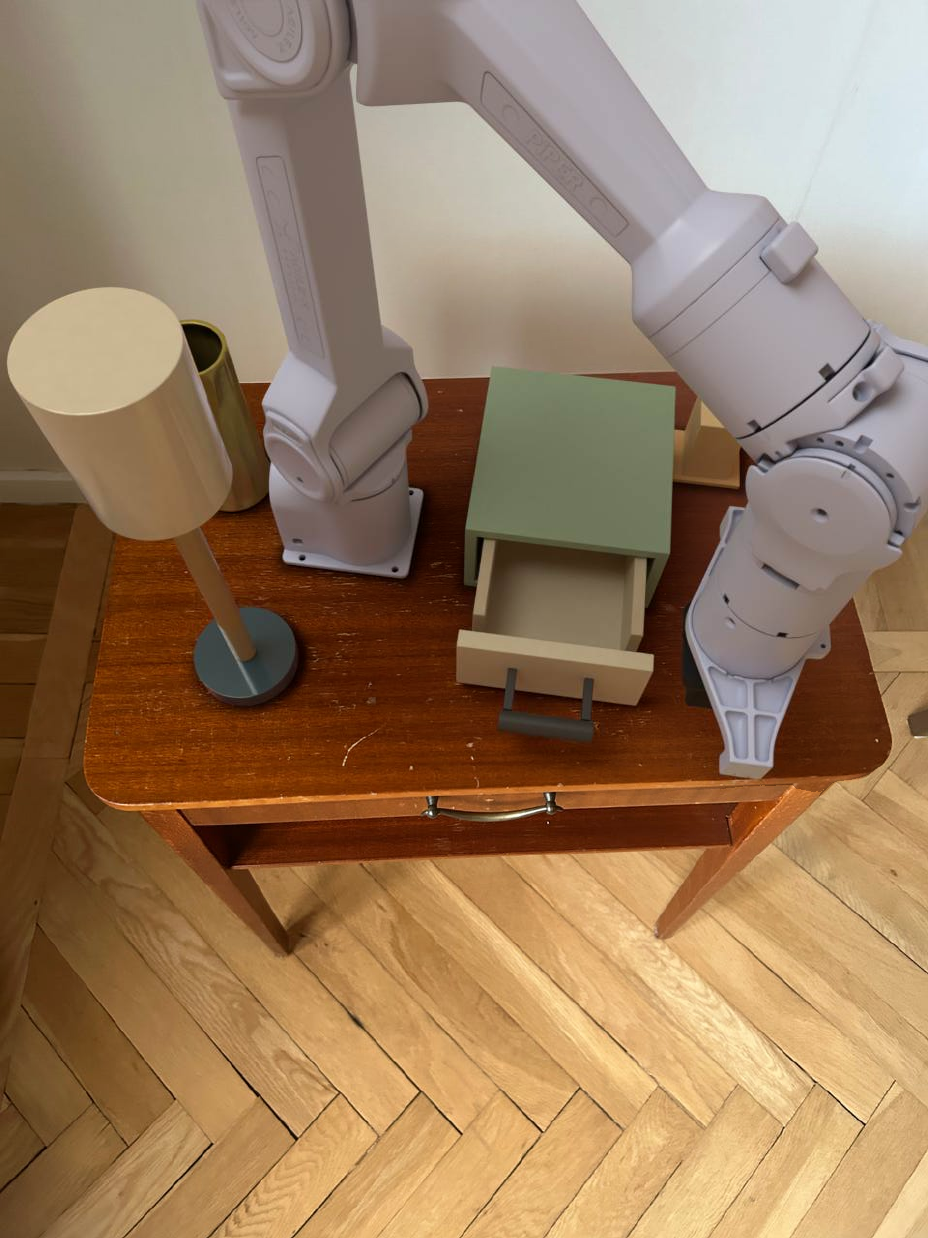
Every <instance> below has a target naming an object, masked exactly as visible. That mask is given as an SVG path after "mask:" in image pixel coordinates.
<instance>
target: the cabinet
mask: <svg viewBox="0 0 928 1238" xmlns="http://www.w3.org/2000/svg"><path fill="white" fill-rule="evenodd" d="M489 375H490V376H489V382H488V388H487V394H486V399H485V407H484V411H483V417H482V424H481V430H480V436H479V443H478V450H477V453H476V461H475V467H474V473H473V479H472V483H471V484H472V485H471V492H470V496H469V502H468V509H467V514H466V515H467V516H466V522H465V526H464V561H463V562H464V565H463V566H464V567H463V585H464V586H468V587H476V588H477V583H478V577H479V570H480V564H481V557H482V550H483V544H484V537H485V538H493V539H501V540H509V541H517V542H525V543H533V544H542V545H550V546H558V547H566V548H574V549H582V550H591V551H599V552H607V553H615V554H623V555H631V556H639V557H647V568H646V589H645V609H648V607H649V605H650V603H651V601H652V599H653V595H654V594H655V592H656V589H657V586H658V584H659V581H660V579H661V576H662V574H663V572H664V570H665V567H666V564H667V562H668V560H669V558H670V555H671V536H672V510H673V508H672V505H673V483H674V481H673V453H674V430H675V419H676V417H675V416H676V393H677V392H676V391H677V390H676V389H677V387H676V386H674V385H667V384H657V383H649V382H639V381H631V380H630V381H629V380H622V379H621V380H620V379H614V378H613V379H612V378H605V377H595V376H586V375H576V374H569V373H568V374H567V373H560V372H551V371H541V370H532V369H525V368H524V369H523V368H515V367H514V368H513V367H505V366H498V365H497V366H495V365H492V366H491V369H490V374H489Z"/></svg>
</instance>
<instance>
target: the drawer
mask: <svg viewBox="0 0 928 1238" xmlns="http://www.w3.org/2000/svg"><path fill="white" fill-rule="evenodd" d="M646 568H647V557H639V556H631V555H623V554H615V553H607V552H599V551H591V550H582V549H574V548H566V547H558V546H550V545H542V544H533V543H525V542H517V541H509V540H501V539H493V538H485V537H484V544H483V550H482V557H481V564H480V570H479V577H478V583H477V587H476V590H475V596H474V597H475V598H474V604H473V609H472V627H471V630H467V629H459V630H458V633H457V634H458V635H457V641H456V677H455V678H456V679H455V680H456V683H460V684H467V685H476V686H482V687H491V688H498V689H504V697H503V705H502V708H501V709H499V712H498V720H497V727H496V731H497V732H500V733H507V734H508V733H509V734H514V735H522V736H530V737H536V738H545V739H552V740H560V741H567V742H573V743H583V744H589V745H590V744H592V743H593V739H594V733H595V722H594V721H592V709H593V701H597V702H605V703H612V704H619V705H627V706H628V705H629V706H637V705H638V704H639V701H640V699H641V697H642V695H643V693H644V691H645V689H646V687H647V684H648V682H649V681H650V678H651V677H652V674H653V672H654V663H655V655H654V654H652V653H646V652H645V653H644V652H637V651H638V648H639V646H640V644H641V642H642V639H643V637H644V631H645V630H644V628H645V627H644V626H645V609H646V608H645V589H646ZM515 691H522V692H529V693H537V694H544V695H552V696H558V697H559V696H560V697H566V698H573V699H581V709H580V719H578V718H577V719H576V718H569V717H562V716H555V715H554V716H553V715H548V714H547V715H546V714H539V713H538V714H537V713H531V712H524V711H517V710H513V707H514V699H515Z"/></svg>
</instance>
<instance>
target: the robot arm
mask: <svg viewBox="0 0 928 1238" xmlns="http://www.w3.org/2000/svg"><path fill="white" fill-rule="evenodd" d="M194 2H195V6H196V10H197V14H198V19H199V21H200V22H199V23H200V26H201V29H202V33H203V37H204V41H205V45H206V49H207V53H208V56H209V60H210V63H211V64H210V65H211V68H212V72H213V75H214V79H215V80H214V81H215V83H216V88H217V91H218V93H219V95H220V96H221V97H222V98H223V99H224V100H225V101H226V104H227V108H228V111H229V115H230V119H231V123H232V128H233V131H234V136H235V138H236V143H237V147H238V150H239V155H240V159H241V163H242V166H243V170H244V174H245V179H246V182H247V186H248V190H249V195H250V198H251V202H252V207H253V210H254V214H255V217H256V222H257V226H258V230H259V234H260V238H261V242H262V246H263V250H264V254H265V258H266V262H267V265H268V266H267V267H268V270H269V273H270V277H271V282H272V286H273V289H274V294H275V298H276V302H277V306H278V310H279V313H280V318H281V322H282V325H283V328H284V329H283V330H284V334H285V337H286V341H287V345H288V346H287V347H288V350H287V352H286V354H285V356H284V358H283V360H282V362H281V364H280V365H279V368H278V370H277V371H276V374H275V375H274V376H273V377H274V378H273V379H272V381H271V383H270V384H269V387H268V389H267V390H266V392H265V393H264V396H263V399H262V400H261V406H262V410H263V413H264V416H265V423H264V427H263V432H262V436H263V441H264V448H265V452H266V454H267V457H268V458H269V461H270V464H271V466H270V474H269V492H268V494H269V495H268V496H269V502H270V503H269V504H270V507H271V510H272V513H273V516H274V520H275V523H276V526H277V530H278V532H279V536H280V538H281V542H282V545H283V549H284V550H283V553H282V560H283V563H284V564H286V565H292V566H298V567H299V566H300V567H306V568H307V567H309V568H316V569H324V570H332V571H339V572H347V573H355V574H363V575H370V576H378V577H379V576H380V577H387V578H395V579H406V578H407V577H408V576H409V572H410V567H411V562H412V557H413V552H414V547H415V542H416V536H417V533H418V528H419V522H420V516H421V512H422V507H423V501H424V492H423V490H422V489H420V488H415V487H409V485H410V484H409V476H408V475H409V473H408V464H407V463H408V462H407V461H408V460H407V448H408V446H409V444H410V443H411V441H412V440H413V429H412V427H413V426H416V425H417V424H419V423H420V422H421V421H422V420H424V419H425V417H426V416H427V414H428V411H429V400H428V394H427V390H426V386H425V384H424V381H423V380H422V377H421V375H420V374H419V372H418V371H417V370H418V369H417V367H416V365H415V359H414V349H413V346H411V345H410V344H409V343H408V342H407V341H405V339H404V338H403V337H401V336H400V335H399V334H397V333H396V332H395V331H393V330H391V328H388V327H387V326H385V325H384V324H382V322H381V314H380V305H379V296H378V289H377V288H378V287H377V282H376V274H375V268H374V267H375V265H374V258H373V249H372V241H371V234H370V225H369V219H368V218H369V217H368V210H367V201H366V195H365V194H366V193H365V185H364V178H363V170H362V163H361V161H362V160H361V154H360V146H359V145H360V144H359V137H358V131H357V123H356V114H355V107H354V98H353V97H354V96H353V90H352V82H351V81H352V80H351V70H352V68H353V66H354V65H356V81H355V82H356V83H355V84H356V85H355V101H356V102H357V103H358V104H360V105H362V106H363V107H364V106H365V107H372V108H373V107H389V106H406V105H425V104H440V103H442V104H443V103H463V104H466V105H468V106H469V107H470V108H471V109H472V110H473V111H474V112H475V113H476V114H477V115H478V116H479V117H480V118H481V119H482V120H483V121H484V122H485V123H486V124H487V125H488V126H490V128H491V129H492V130H493V131H494V132H495V133H496V134H497V135H499V136H500V138H501V139H502V140H504V142H505V143H507V144H508V145H509V147H510V148H511V149H512V150H513V151H514V152H516V154H518V155H519V156H520V157H521V158H522V159H523V160H524V162H526V163H527V165H529V167H531V168H532V169H533V170H534V171H535V172H536V173H537V175H539V176H540V177H541V178H542V179H543V180H544V181H545V182H546V183H547V184H548V185H549V186H550V187H551V188H552V189H553V191H555V192H556V193H557V194H558V195H559V196H560V197H561V198H562V199H563V200H564V201H565V202H566V203H567V204H568V205H569V206H570V207H571V208H572V209H573V210H574V211H575V212H576V213H577V214H578V215H579V216H580V217H581V218H582V219H583V220H584V221H585V222H586V223H587V224H588V225H589V226H590V227H591V228H592V229H593V230H594V231H595V232H596V233H597V234H598V235H599V236H600V237H601V238H602V239H603V240H604V241H605V242H606V243H607V244H608V245H609V246H610V247H611V248H612V249H613V250H614V251H615V252H616V253H617V254H619V256H620V257H621V258H623V260H624V261H626V263H627V264H628V265H629V266H630V270H631V318H632V323H633V324H634V325H635V326H636V327H637V329H638V330H639V331H640V333H642V334H643V336H644V337H645V338H646V339H647V340H648V341H649V342H650V344H651V345H653V347H654V348H655V349H656V350H657V352H658V353H659V354H660V356H661V357H663V358H664V360H665V361H666V362H667V363H668V365H669V366H670V367H671V368H672V369H673V370H674V371H675V372H676V373H677V375H678V376H679V377H680V378H681V379H682V380H683V382H684V383H685V384H686V385H687V386H688V388H689V389H690V390H691V391H692V392H693V393H694V394H695V395H696V397H697V396H698V397H699V399H700V400H701V401H702V402H703V403H704V404H705V406H706V407H707V408H708V409H709V410H710V411H711V412H712V414H713V415H714V416H715V417H716V418H717V419H718V420H719V422H720V423H721V424H722V425H723V426H724V427H725V428H726V430H727V431H728V432H729V433H730V434H731V435H732V436H733V437H734V439H735V440H736V441H737V442H738V443H739V444H740V446H741V449H743V450H744V452H746V454H747V455H748V457H750V458H751V460H752V461H753V462H754V463H755V464H756V465H754V464H753V465H752V464H751V465H749V466H748V469H747V472H746V475H745V493H746V498H747V503H746V506H745V507H742V506H741V507H740V506H733V505H729V507H728V508H727V510H726V513H725V514H724V516H723V519H722V521H721V522H720V524H719V539H720V540H719V542H718V545H717V547H716V549H715V551H714V554H713V555H712V558H711V559H710V562H709V564H708V566H707V569H706V571H705V572H704V575H703V577H702V579H701V582H700V584H699V586H698V587H697V589H696V592H695V594H694V597H693V599H692V600H690V601H688V602H686V604H685V606H684V607H683V610H682V620H681V621H682V624H681V626H682V627H681V637H682V640H683V641H682V643H681V665H680V666H681V667H680V671H681V679H682V684H683V686H684V687H685V692H684V693H685V694H684V695H685V697H684V699H685V704H686V706H688V707H695V708H703V709H709V710H712V711H713V713H714V715H715V719H716V721H717V723H718V726H719V729H720V733H721V737H722V739H723V740H722V741H723V745H724V750H723V751H722V752H721V753H720V755H719V758H718V762H719V764H718V765H719V766H718V769H719V770H718V772H719V774H720V775H723V776H724V775H725V776H732V777H738V778H746V779H755V780H761V779H762V778H763V777H765V775H766V774H768V772H769V771H770V770H772V769H773V768H774V754H775V744H776V740H777V737H778V733H779V730H780V727H781V725H782V722H783V719H784V717H785V715H786V711H787V709H788V707H789V704H790V702H791V699H792V697H793V694H794V691H795V689H796V687H797V684H798V681H799V678H800V676H801V673H802V670H803V667H804V665H805V662H806V660H809V659H813V660H814V659H815V660H823V659H824V658H825V657H826V656H827V655H828V654H829V652H830V651H831V648H832V644H831V643H832V642H831V627H830V624H831V623H832V622H833V621H834V620H835V619H836V617H838V615H839V614H840V613H841V611H843V609H844V608H845V607H846V605H847V604H848V603H849V602H850V601H851V599H852V598H853V597H854V596H855V595H856V593H857V592H858V591H859V590H860V589H861V588H862V586H863V585H864V584H865V583H866V582H867V580H868V579H869V578H870V576H872V574H873V573H874V572H875V571H878V570H881V569H884V568H886V567H889V566H890V565H892V564H894V563H895V562H897V561H898V560H900V558H901V557H902V556H903V550H902V549H901V548H900V547H902V546H903V545H904V544H905V543H906V541H908V540H909V538H910V537H911V535H912V534H913V533H914V531H915V529H916V528H917V526H918V525H919V523H920V522H921V520H922V519H923V517H924V516H925V514H926V513H927V511H928V345H927V344H924V343H921V342H918V341H915V340H910V339H906V338H903V337H900V336H898V335H897V334H895V333H893V332H892V331H891V329H889V328H888V326H887V325H886V324H885V323H884V322H880V323H876V322H875V320H874V319H873V318H870V317H869V318H865V317H864V316H863V314H861V312H860V311H859V309H858V308H857V307H856V306H855V305H854V304H853V302H852V301H851V300H850V299H849V297H847V295H846V294H845V293H844V292H843V290H842V289H841V288H840V287H839V286H838V284H837V282H835V280H834V279H833V278H832V277H831V276H830V274H829V273H828V272H827V271H826V269H825V268H824V267H823V265H822V264H821V263H820V262H819V261H818V260H817V258H816V257H815V256H817V254H818V252H819V246H818V244H817V243H816V242H815V241H814V239H813V238H812V237H811V236H810V235H809V234H808V232H807V231H806V230H805V228H804V227H803V226H802V225H801V223H800V222H798V221H796V220H795V221H791V222H790V223H789V224H788V222H787V221H786V220H785V218H783V217H782V216H781V214H780V212H779V211H778V210H777V209H776V207H774V205H773V204H772V203H771V201H770V200H769V199H768V198H767V197H765V196H763V195H759V194H752V193H741V192H740V193H739V192H726V191H717V190H713V189H711V188H709V187H708V186H707V184H706V183H705V182H704V180H703V178H702V177H701V176H700V175H699V173H698V172H697V170H696V169H695V168H694V166H693V165H692V163H691V162H690V160H689V159H688V158H687V155H685V154H684V151H683V150H682V149H681V147H680V146H679V145H678V143H677V142H676V140H675V138H673V136H672V135H671V134H670V132H669V131H668V129H667V127H665V125H664V124H663V122H662V121H661V119H660V117H658V114H657V113H656V111H655V110H654V108H652V106H651V105H650V103H649V102H648V101H647V99H646V98H645V96H644V95H643V94H642V92H641V91H640V89H639V88H638V86H637V85H636V84H635V82H634V81H633V79H632V78H631V76H630V75H629V74H628V72H627V71H626V69H625V68H624V67H623V65H622V64H621V62H620V61H619V59H618V58H617V57H616V55H615V53H614V52H613V51H612V49H611V48H610V46H609V45H608V44H607V43H606V41H605V39H604V38H603V37H602V35H601V34H600V33H599V31H598V29H597V28H596V27H595V25H594V24H593V22H592V20H591V19H590V18H589V17H588V15H587V14H586V12H585V11H584V9H583V8H582V7H581V5H580V3H579V2H578V1H577V0H194ZM410 494H411V495H410ZM302 558H303V559H304V560H302ZM394 570H397V571H396V572H395V571H394Z"/></svg>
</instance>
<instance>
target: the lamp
mask: <svg viewBox="0 0 928 1238" xmlns="http://www.w3.org/2000/svg"><path fill="white" fill-rule="evenodd" d="M6 368H7V374H8V377H9V381H10V383H11V384H12V387H13V388H14V390H15V391H16V393H17V395H18V397H20V399H21V401H22V402H23V404H24V406H25V407H26V409H27V410H28V412H29V414H30V415H31V417H32V418H33V419H34V422H35V423H36V424H37V426H38V427H39V429H40V431H41V432H42V434H43V435H44V437H45V438H46V440H47V441H48V443H49V445H50V446H51V448H52V449H53V451H54V452H55V454H56V456H57V457H58V459H59V460H60V462H61V464H62V465H63V466H64V468H65V470H66V471H67V473H68V475H69V476H70V478H71V479H72V481H73V483H74V484H75V485H76V487H77V488H78V490H79V492H80V493H81V495H82V496H83V498H84V499H85V501H86V503H87V504H88V506H89V508H90V509H91V511H92V512H93V514H94V515H95V517H96V518H97V519H98V520H99V522H100V523H102V525H104V526H105V527H106V528H107V529H108V530H109V531H112V532H113V533H115V534H117V535H118V536H119V535H120V536H122V537H125V538H128V539H132V540H136V541H147V542H153V541H164V540H170V539H172V541H173V543H174V544H175V546H176V548H177V550H178V553H179V554H180V556H181V557H182V560H183V562H184V564H185V565H186V568H187V569H188V571H189V573H190V575H191V577H192V580H193V581H194V583H195V584H196V586H197V589H198V590H199V592H200V594H201V596H202V598H203V600H204V601H205V604H206V605H207V607H208V609H209V612H210V613H211V615H212V618H213V619H212V620H211V621H210V622H209V623H208V624H207V625H206V626H205V627H204V628H203V630H202V632H201V633H200V635H199V637H198V638H197V640H196V643H195V647H194V650H193V665H194V669H195V671H196V675H197V676H198V678H199V680H200V681H201V683H202V684H203V686H204V688H205V689H206V690H207V691H208V692H209V694H211V695H212V697H214V698H215V699H217V700H218V701H221V702H222V703H225V704H227V705H232V706H236V707H250V706H256V705H259V704H264V703H266V702H268V701H270V700H272V699H274V698H276V697H277V696H278V695H280V694H281V693H282V692H283V691H284V690H285V689H287V687H288V686H289V685H290V683H291V682H292V681H293V679H294V677H295V675H296V673H297V670H298V667H299V660H300V659H299V658H300V653H299V648H298V644H297V641H296V638H295V635H294V633H293V630H292V628H291V627H290V625H289V624H288V622H286V620H285V619H284V618H283V617H281V616H280V615H279V614H277V613H276V612H274V611H272V610H269V609H266V608H262V607H258V606H243V607H238V605H237V603H236V601H235V598H234V596H233V594H232V592H231V589H230V587H229V585H228V583H227V581H226V578H225V577H224V575H223V572H222V570H221V568H220V566H219V564H218V561H217V559H216V556H215V555H214V553H213V551H212V548H211V546H210V544H209V542H208V540H207V537H206V535H205V534H204V531H203V529H202V527H201V526H203V525H204V524H205V523H207V522H208V521H209V520H210V519H212V518H213V517H214V516H215V515H216V514H217V513H218V511H220V510H219V509H220V507H221V506H222V505H223V503H224V502H225V500H226V498H227V496H228V493H229V491H230V488H231V484H232V475H233V473H232V465H231V461H230V458H229V455H228V452H227V450H226V447H225V444H224V441H223V439H222V436H221V433H220V430H219V428H218V425H217V422H216V419H215V417H214V414H213V411H212V408H211V406H210V403H209V400H208V397H207V395H206V392H205V389H204V386H203V383H202V381H201V378H200V375H199V372H198V370H197V367H196V364H195V361H194V359H193V356H192V353H191V350H190V348H189V345H188V342H187V339H186V337H185V334H184V331H183V328H182V326H181V323H180V319H179V318H178V316H177V315H176V313H175V311H173V309H171V308H170V306H169V305H167V304H166V303H165V302H164V301H162V300H161V299H159V298H157V297H156V296H154V295H152V294H149V293H147V292H144V291H141V290H137V289H134V288H130V287H129V288H128V287H120V286H119V287H118V286H106V287H105V286H104V287H103V286H101V287H93V288H86V289H83V290H78V291H75V292H72V293H69V294H66V295H64V296H60V297H59V298H57V299H55V300H53V301H51V302H48V303H47V304H46V305H44V306H42V307H41V308H40V309H38V310H37V311H36V312H34V313H33V314H31V316H29V318H28V319H26V321H24V322H23V324H22V325H21V326H20V328H19V329H18V330H17V331H16V333H15V335H14V337H12V341H11V343H10V344H9V348H8V351H7V358H6Z"/></svg>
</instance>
